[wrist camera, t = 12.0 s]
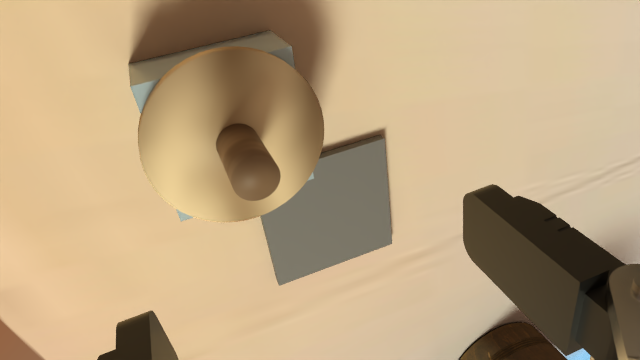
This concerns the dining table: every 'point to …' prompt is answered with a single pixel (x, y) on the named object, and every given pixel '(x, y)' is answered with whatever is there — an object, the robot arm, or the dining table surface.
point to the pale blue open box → (154, 69)
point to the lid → (230, 134)
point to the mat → (332, 213)
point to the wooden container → (513, 345)
